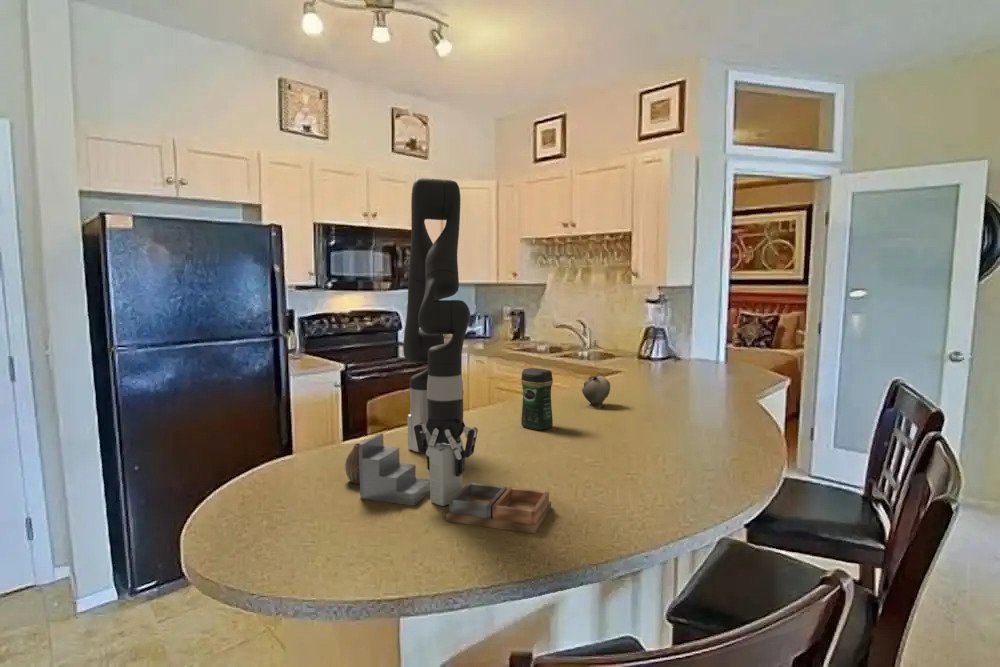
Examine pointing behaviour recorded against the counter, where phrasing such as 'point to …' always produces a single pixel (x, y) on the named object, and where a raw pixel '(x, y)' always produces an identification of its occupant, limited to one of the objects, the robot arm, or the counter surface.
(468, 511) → the divided tray
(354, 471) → the vase
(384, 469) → the gray stair step block
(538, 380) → the coffee jar
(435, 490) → the skincare box
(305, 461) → the counter surface
